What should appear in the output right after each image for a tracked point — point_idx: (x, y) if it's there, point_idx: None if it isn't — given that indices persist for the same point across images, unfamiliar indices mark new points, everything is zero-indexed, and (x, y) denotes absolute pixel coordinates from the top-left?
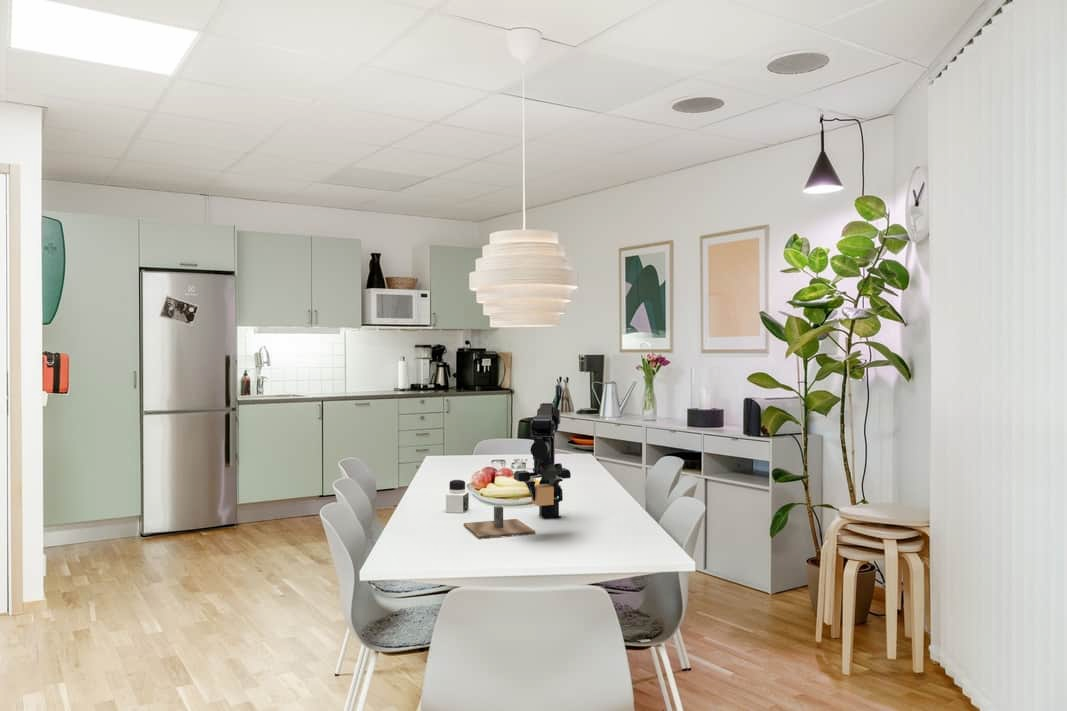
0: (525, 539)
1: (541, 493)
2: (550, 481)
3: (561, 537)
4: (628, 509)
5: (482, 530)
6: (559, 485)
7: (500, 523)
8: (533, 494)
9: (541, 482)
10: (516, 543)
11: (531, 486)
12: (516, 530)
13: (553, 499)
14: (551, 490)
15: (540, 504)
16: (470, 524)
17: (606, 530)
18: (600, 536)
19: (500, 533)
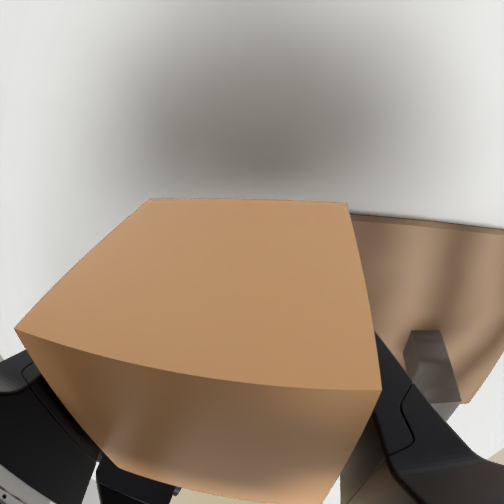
0: (405, 129)
1: (282, 288)
2: (65, 468)
3: (200, 96)
4: (4, 344)
5: (498, 314)
6: (97, 460)
7: (427, 343)
8: (378, 353)
9: (161, 499)
10: (472, 81)
11: (452, 455)
12: (393, 266)
13: (123, 222)
14: (76, 296)
15: (308, 207)
16: (467, 388)
17: (19, 171)
18: (46, 82)
19: (481, 244)
